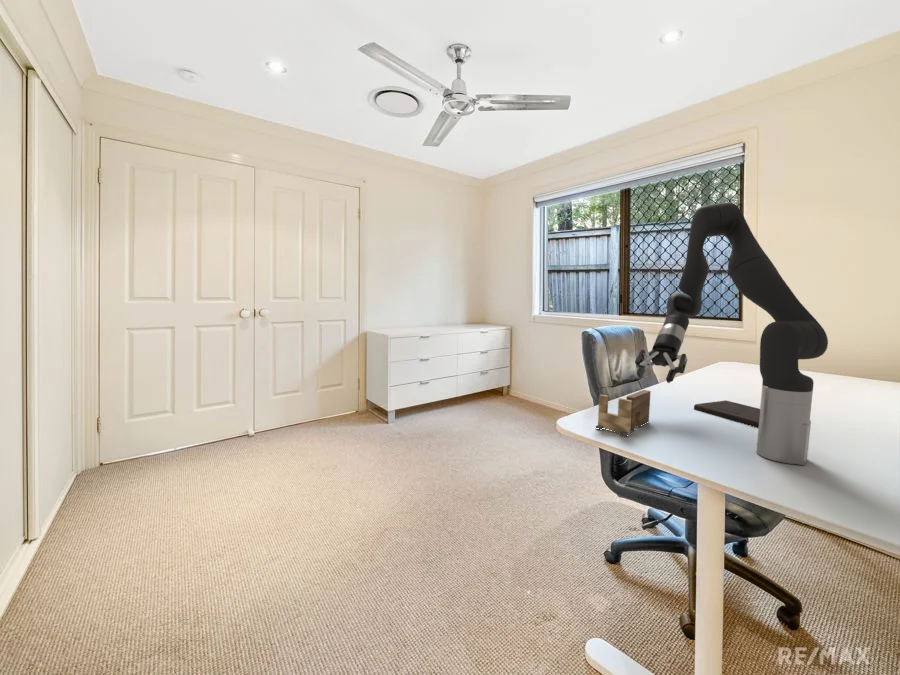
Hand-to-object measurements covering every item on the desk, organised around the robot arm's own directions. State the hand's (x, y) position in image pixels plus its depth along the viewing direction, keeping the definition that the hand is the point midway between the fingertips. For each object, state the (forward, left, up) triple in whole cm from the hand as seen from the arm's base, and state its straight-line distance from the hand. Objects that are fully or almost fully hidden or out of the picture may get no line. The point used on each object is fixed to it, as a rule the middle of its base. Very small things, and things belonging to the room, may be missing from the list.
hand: (653, 379), depth 124 cm
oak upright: (+2, +20, -13) cm, 24 cm away
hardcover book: (-19, -26, -14) cm, 35 cm away
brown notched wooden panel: (0, +10, -13) cm, 17 cm away
